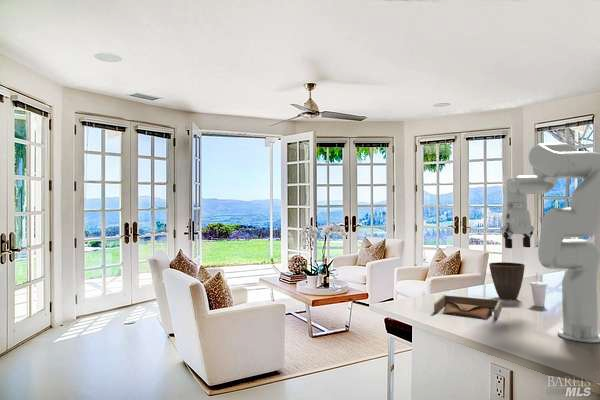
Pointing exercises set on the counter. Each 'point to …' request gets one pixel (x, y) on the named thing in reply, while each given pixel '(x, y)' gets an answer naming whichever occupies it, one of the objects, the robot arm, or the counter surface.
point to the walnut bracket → (469, 303)
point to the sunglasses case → (467, 310)
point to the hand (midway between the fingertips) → (517, 247)
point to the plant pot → (507, 279)
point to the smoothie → (538, 292)
